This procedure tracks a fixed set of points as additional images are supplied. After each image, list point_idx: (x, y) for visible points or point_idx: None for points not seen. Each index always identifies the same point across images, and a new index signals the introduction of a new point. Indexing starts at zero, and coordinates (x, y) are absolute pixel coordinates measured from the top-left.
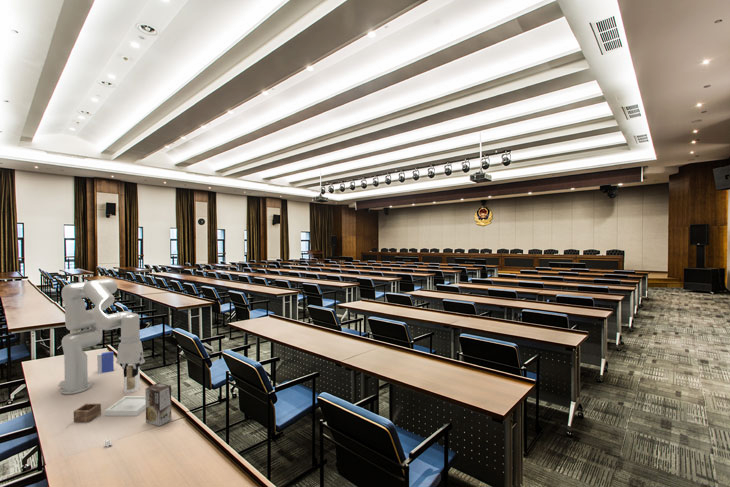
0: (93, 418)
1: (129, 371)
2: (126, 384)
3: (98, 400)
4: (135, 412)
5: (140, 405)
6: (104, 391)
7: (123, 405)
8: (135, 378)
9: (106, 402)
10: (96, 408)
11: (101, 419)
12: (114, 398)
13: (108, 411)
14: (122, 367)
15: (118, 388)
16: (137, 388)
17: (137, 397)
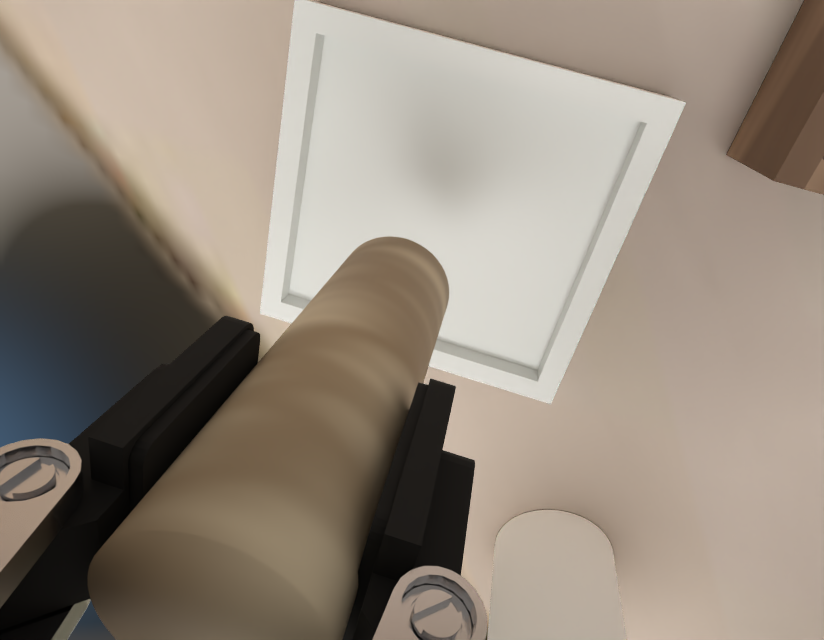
0: (792, 33)
1: (254, 425)
2: (589, 584)
3: (810, 460)
4: (320, 3)
5: (339, 180)
6: (785, 600)
7: (516, 230)
8: (508, 626)
9: (722, 397)
10: (808, 93)
11: (689, 5)
12: (663, 451)
13: (639, 90)
14: (470, 637)
15: (673, 609)
16: (501, 540)
17: None
